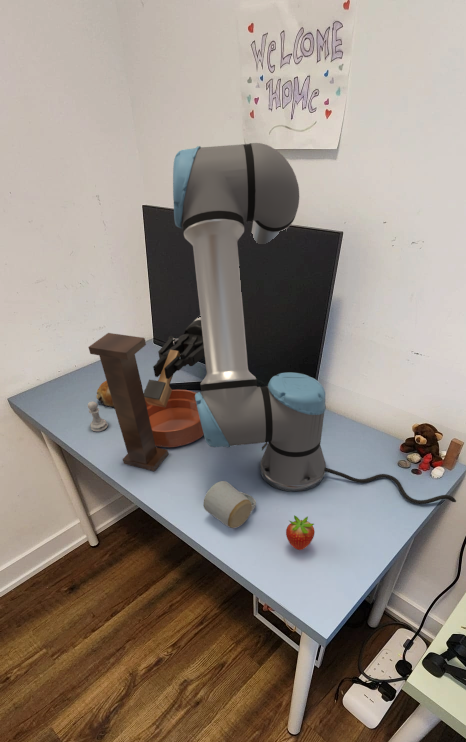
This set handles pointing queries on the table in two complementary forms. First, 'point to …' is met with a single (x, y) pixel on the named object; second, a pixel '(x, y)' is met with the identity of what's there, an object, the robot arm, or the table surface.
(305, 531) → the fruit
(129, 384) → the stand
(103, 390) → the bread roll
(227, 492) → the ceramic mug
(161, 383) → the hairbrush
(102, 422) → the chess piece
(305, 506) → the table surface
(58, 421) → the table surface
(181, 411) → the bowl
